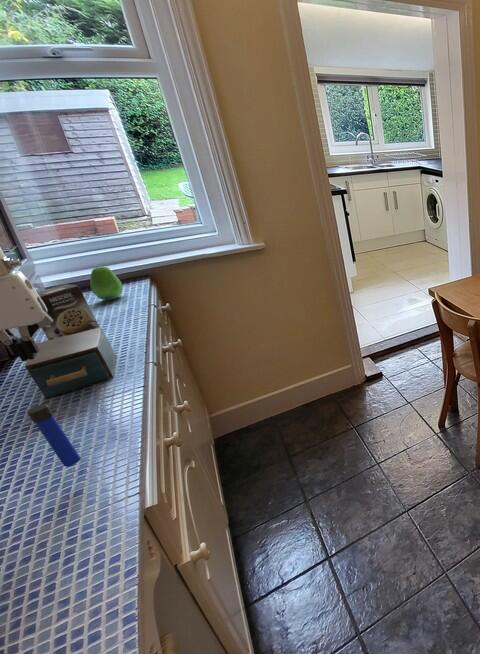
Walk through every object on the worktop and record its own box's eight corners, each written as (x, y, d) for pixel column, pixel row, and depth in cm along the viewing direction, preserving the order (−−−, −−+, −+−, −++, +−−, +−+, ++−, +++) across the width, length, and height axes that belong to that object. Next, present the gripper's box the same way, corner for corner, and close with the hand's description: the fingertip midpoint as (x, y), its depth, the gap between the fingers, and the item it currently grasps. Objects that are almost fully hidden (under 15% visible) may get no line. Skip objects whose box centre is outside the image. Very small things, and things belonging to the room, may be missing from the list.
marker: (66, 468, 72) (30, 414, 67) (60, 464, 73) (23, 411, 68) (84, 459, 74) (49, 405, 69) (78, 455, 75) (43, 402, 70)
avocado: (128, 298, 145) (113, 266, 140) (99, 305, 140) (82, 272, 135) (125, 292, 151) (111, 261, 145) (97, 299, 145) (80, 267, 140)
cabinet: (114, 377, 98) (97, 346, 95) (45, 398, 92) (24, 366, 88) (116, 355, 108) (101, 327, 104) (54, 373, 101) (36, 343, 98)
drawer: (107, 385, 94) (93, 360, 91) (43, 405, 88) (26, 379, 85) (111, 357, 106) (99, 334, 103) (54, 373, 100) (40, 349, 97)
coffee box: (66, 352, 111) (34, 298, 104) (53, 349, 113) (20, 295, 106) (106, 336, 118) (79, 285, 111) (93, 333, 120) (65, 283, 114)
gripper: (42, 258, 82) (83, 338, 89) (-78, 275, 73) (-22, 363, 80) (35, 267, 76) (79, 352, 84) (-95, 287, 68) (-33, 380, 75)
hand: (29, 357), depth 82 cm, fingers closed
